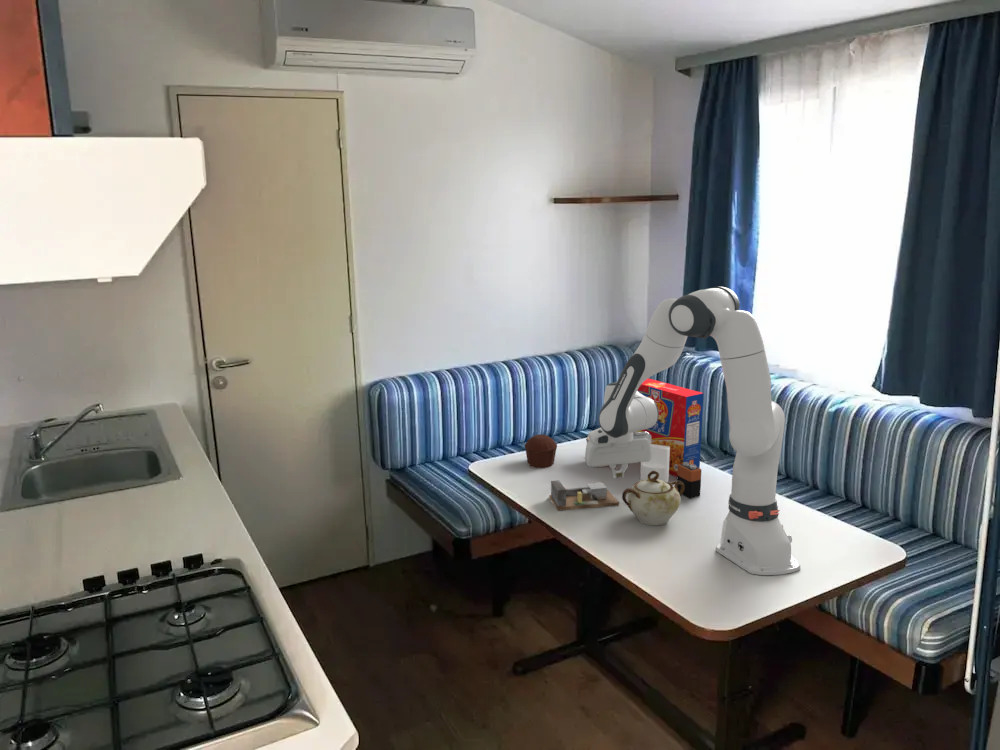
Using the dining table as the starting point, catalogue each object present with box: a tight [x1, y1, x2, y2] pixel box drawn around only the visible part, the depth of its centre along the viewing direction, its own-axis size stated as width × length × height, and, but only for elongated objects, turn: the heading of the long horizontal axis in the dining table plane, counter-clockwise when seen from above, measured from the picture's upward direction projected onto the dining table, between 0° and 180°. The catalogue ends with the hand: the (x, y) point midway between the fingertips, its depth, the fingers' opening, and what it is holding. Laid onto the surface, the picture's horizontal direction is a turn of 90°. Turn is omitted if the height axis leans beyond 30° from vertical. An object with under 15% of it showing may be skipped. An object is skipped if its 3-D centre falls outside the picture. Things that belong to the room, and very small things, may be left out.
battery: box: [676, 462, 702, 499], centre depth 250 cm, size 4×7×10 cm, turn 25°
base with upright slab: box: [639, 444, 670, 483], centre depth 261 cm, size 9×9×12 cm
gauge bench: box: [548, 480, 620, 511], centre depth 246 cm, size 19×10×6 cm, turn 101°
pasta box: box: [637, 377, 705, 478], centre depth 274 cm, size 28×8×28 cm, turn 35°
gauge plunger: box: [582, 482, 608, 500], centre depth 245 cm, size 7×7×4 cm
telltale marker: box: [577, 492, 582, 503], centre depth 241 cm, size 1×2×3 cm, turn 11°
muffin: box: [524, 434, 558, 469], centre depth 279 cm, size 12×11×10 cm
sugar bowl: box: [621, 471, 685, 526], centre depth 231 cm, size 20×15×15 cm
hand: (618, 477), depth 246 cm, fingers closed
